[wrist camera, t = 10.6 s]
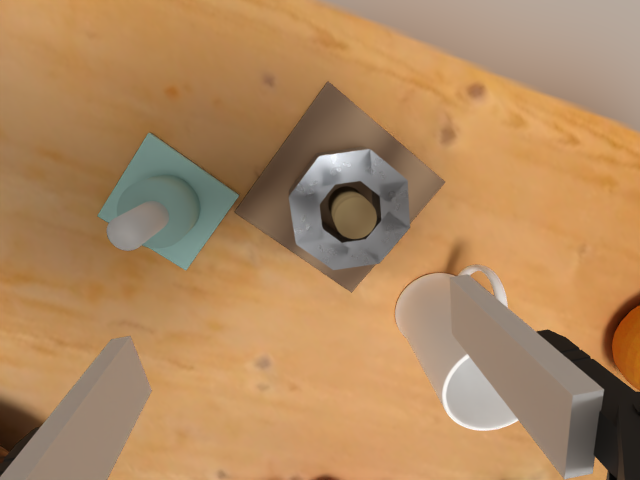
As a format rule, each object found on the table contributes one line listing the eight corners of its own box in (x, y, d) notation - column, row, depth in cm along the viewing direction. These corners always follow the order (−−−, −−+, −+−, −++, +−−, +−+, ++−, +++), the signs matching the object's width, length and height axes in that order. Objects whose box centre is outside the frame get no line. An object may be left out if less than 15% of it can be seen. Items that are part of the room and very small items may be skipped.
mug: (419, 234, 35) (481, 287, 24) (496, 252, 36) (590, 310, 25) (384, 336, 38) (423, 425, 27) (456, 349, 39) (522, 440, 28)
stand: (99, 215, 32) (29, 247, 23) (150, 132, 30) (94, 135, 22) (187, 268, 34) (151, 316, 26) (239, 195, 32) (220, 219, 24)
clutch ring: (300, 261, 31) (300, 275, 28) (283, 157, 28) (282, 160, 25) (400, 246, 31) (411, 258, 28) (394, 142, 28) (406, 144, 26)
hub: (235, 211, 33) (216, 239, 25) (327, 81, 30) (340, 65, 22) (350, 290, 36) (367, 338, 28) (443, 181, 33) (492, 199, 25)
